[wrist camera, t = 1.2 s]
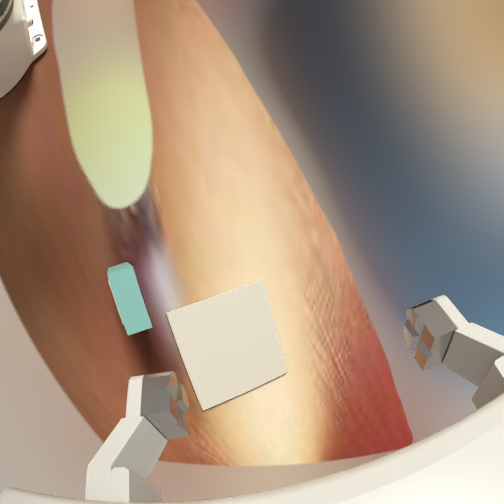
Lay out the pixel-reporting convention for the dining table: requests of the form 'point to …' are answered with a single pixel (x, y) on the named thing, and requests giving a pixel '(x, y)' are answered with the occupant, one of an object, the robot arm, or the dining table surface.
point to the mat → (228, 343)
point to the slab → (128, 298)
